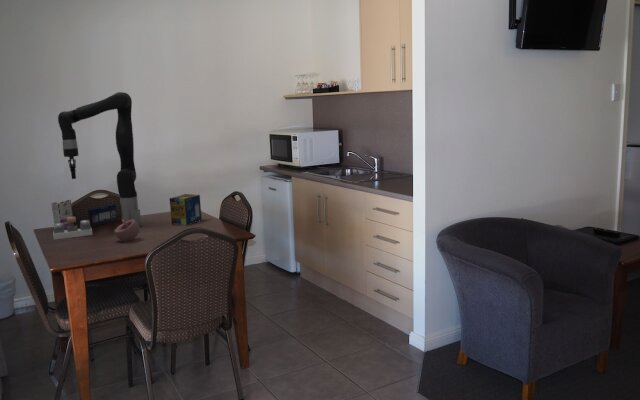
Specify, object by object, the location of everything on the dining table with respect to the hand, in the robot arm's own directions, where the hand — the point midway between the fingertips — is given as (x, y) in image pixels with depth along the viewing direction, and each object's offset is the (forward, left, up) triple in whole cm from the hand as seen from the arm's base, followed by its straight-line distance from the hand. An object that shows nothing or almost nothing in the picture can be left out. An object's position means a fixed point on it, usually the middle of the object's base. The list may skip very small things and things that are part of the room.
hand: (73, 178), depth 312 cm
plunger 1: (-3, +20, -26) cm, 33 cm away
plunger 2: (-13, +12, -26) cm, 31 cm away
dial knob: (-8, +16, -23) cm, 29 cm away
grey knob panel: (-8, +16, -29) cm, 34 cm away
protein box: (-56, -21, -29) cm, 67 cm away
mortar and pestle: (-46, +24, -29) cm, 60 cm away
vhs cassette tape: (-4, -17, -29) cm, 34 cm away
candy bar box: (+10, 0, -29) cm, 31 cm away
